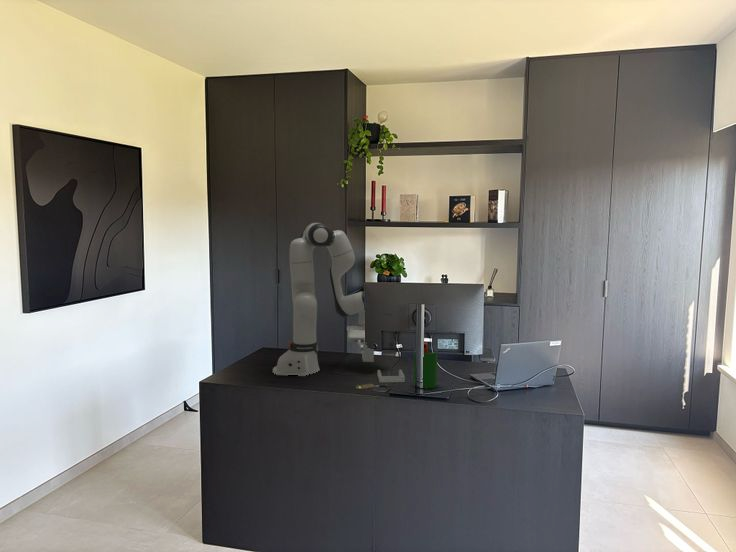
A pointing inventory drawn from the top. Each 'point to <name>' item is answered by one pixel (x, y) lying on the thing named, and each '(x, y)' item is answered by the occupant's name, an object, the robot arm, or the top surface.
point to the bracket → (391, 377)
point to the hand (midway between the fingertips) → (368, 349)
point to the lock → (367, 353)
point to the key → (364, 386)
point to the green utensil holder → (428, 368)
